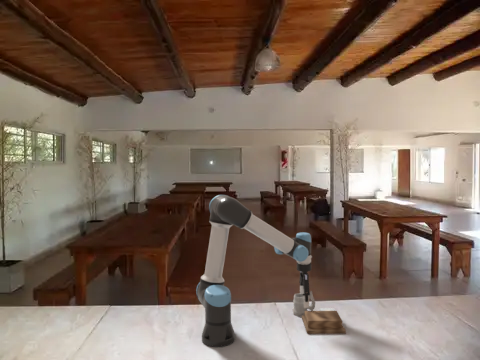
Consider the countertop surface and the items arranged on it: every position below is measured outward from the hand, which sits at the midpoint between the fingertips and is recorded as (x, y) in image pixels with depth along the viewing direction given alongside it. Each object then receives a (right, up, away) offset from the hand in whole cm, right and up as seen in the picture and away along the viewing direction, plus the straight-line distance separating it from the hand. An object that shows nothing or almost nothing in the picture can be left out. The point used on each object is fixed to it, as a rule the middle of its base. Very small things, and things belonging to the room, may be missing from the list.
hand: (304, 302), depth 217 cm
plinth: (+7, -7, -15) cm, 18 cm away
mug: (0, -6, 0) cm, 6 cm away
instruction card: (+13, -6, +1) cm, 14 cm away
